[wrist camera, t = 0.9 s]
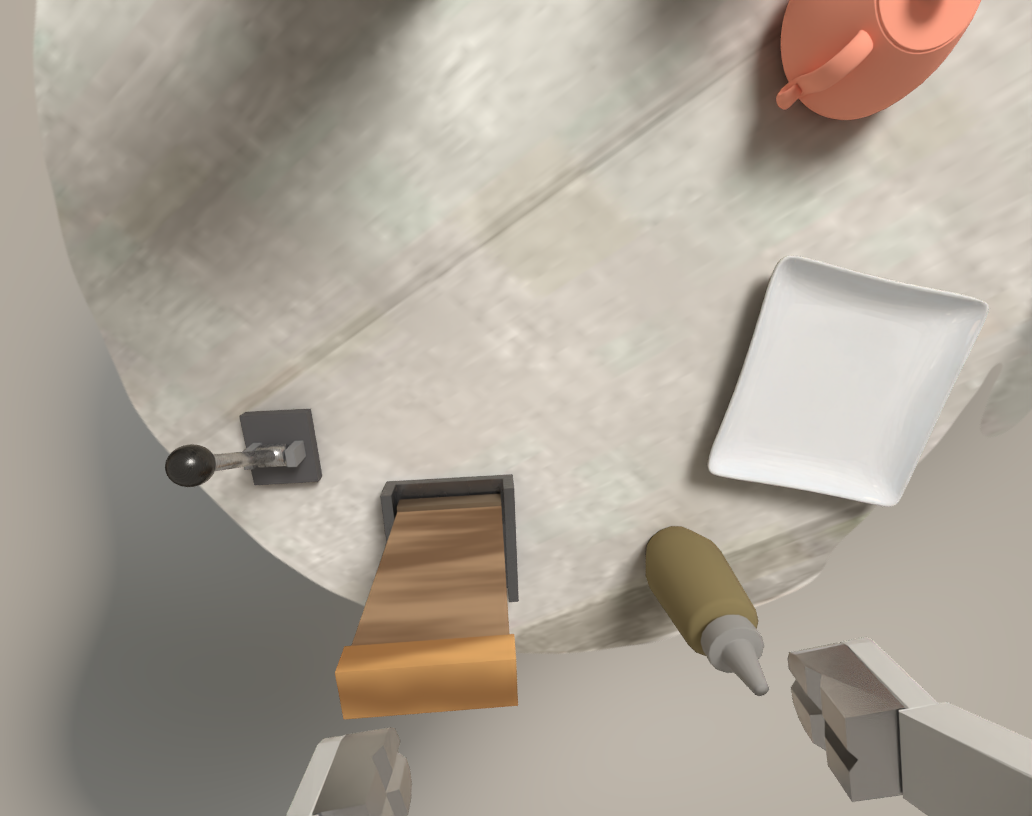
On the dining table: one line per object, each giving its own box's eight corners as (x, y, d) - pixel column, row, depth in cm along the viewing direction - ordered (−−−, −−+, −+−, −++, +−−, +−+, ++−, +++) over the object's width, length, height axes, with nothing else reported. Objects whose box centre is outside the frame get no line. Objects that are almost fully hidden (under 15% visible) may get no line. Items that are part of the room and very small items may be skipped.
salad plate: (761, 251, 44) (783, 251, 41) (963, 299, 47) (999, 302, 43) (690, 461, 50) (704, 476, 47) (872, 493, 53) (898, 509, 49)
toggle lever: (262, 440, 45) (154, 446, 31) (293, 439, 45) (199, 443, 31) (263, 470, 45) (155, 490, 31) (294, 469, 45) (200, 488, 31)
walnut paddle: (396, 499, 48) (334, 669, 28) (503, 493, 48) (516, 656, 29) (400, 535, 49) (344, 721, 29) (505, 528, 49) (518, 708, 30)
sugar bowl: (938, 51, 40) (1084, -14, 30) (796, 174, 42) (889, 150, 32) (867, -93, 37) (1006, -219, 27) (717, 48, 39) (795, -21, 29)
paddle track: (386, 481, 48) (380, 495, 45) (512, 474, 49) (514, 488, 46) (400, 590, 52) (395, 609, 49) (516, 582, 53) (518, 601, 50)
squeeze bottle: (632, 522, 51) (705, 655, 34) (707, 510, 52) (817, 637, 34) (637, 585, 54) (708, 739, 37) (708, 573, 54) (812, 721, 37)
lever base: (245, 412, 45) (225, 424, 42) (310, 408, 46) (296, 421, 42) (260, 479, 47) (242, 497, 44) (322, 476, 48) (309, 493, 44)
